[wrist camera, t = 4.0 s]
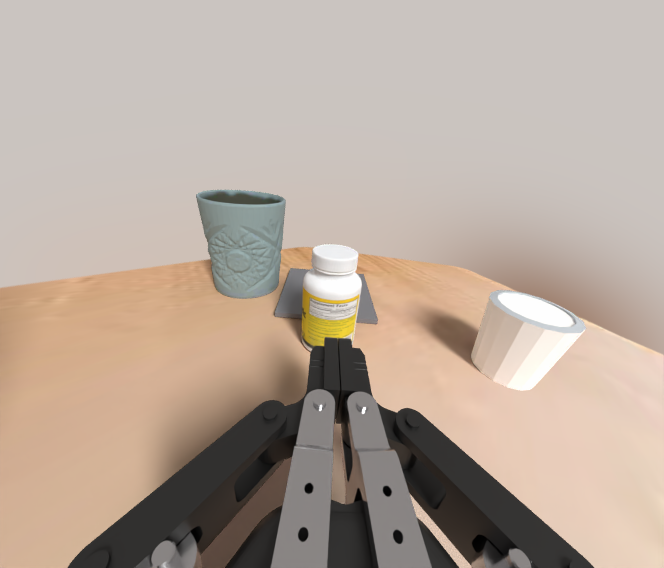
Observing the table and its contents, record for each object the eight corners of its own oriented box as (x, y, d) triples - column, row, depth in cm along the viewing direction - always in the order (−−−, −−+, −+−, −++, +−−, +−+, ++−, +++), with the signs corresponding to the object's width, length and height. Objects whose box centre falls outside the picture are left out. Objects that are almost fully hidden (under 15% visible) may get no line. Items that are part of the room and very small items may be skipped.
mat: (376, 323, 29) (377, 319, 28) (274, 316, 28) (274, 312, 28) (362, 277, 40) (363, 274, 40) (290, 271, 40) (290, 268, 39)
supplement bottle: (312, 320, 28) (318, 238, 24) (357, 332, 27) (372, 248, 23) (291, 349, 23) (293, 254, 19) (344, 366, 22) (360, 268, 18)
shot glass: (464, 376, 22) (494, 313, 19) (463, 336, 28) (486, 282, 25) (554, 409, 20) (605, 344, 17) (533, 358, 26) (568, 302, 23)
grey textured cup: (257, 265, 41) (253, 189, 35) (299, 286, 35) (303, 200, 30) (195, 282, 33) (179, 190, 28) (237, 312, 28) (227, 205, 23)
